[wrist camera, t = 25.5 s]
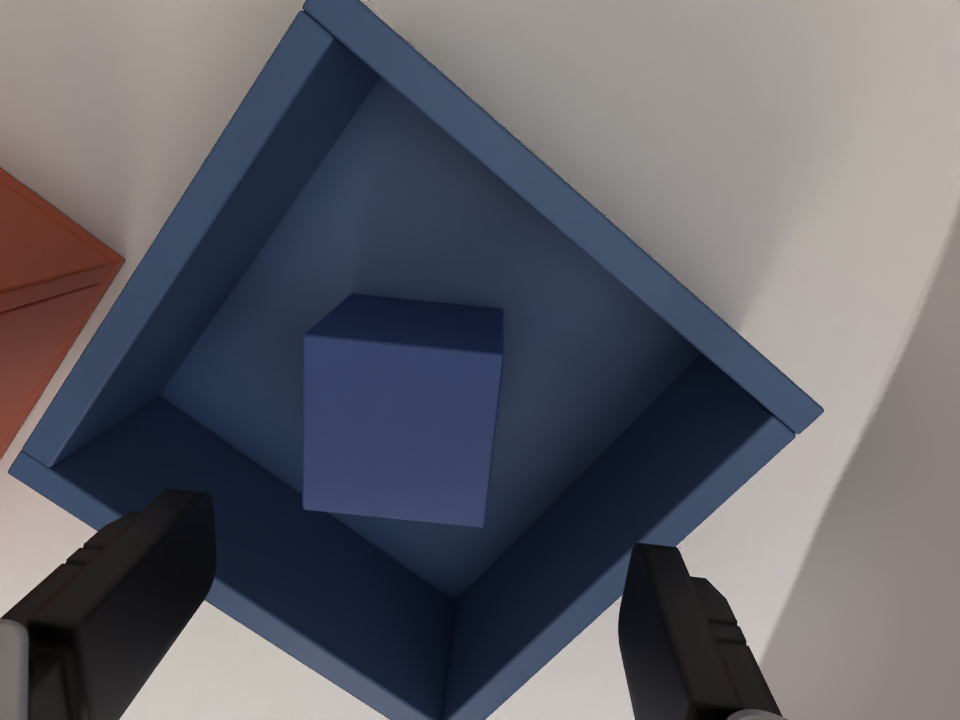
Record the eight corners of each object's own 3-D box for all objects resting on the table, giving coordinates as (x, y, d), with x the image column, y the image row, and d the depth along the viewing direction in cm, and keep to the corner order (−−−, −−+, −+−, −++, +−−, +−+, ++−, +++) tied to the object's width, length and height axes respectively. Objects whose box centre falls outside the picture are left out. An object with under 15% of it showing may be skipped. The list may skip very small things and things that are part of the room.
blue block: (350, 293, 18) (301, 333, 14) (504, 308, 18) (504, 353, 14) (346, 433, 20) (301, 510, 15) (489, 448, 20) (484, 530, 15)
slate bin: (381, 31, 17) (323, -32, 11) (735, 341, 19) (826, 411, 14) (136, 391, 20) (5, 473, 15) (459, 615, 22) (445, 757, 17)
